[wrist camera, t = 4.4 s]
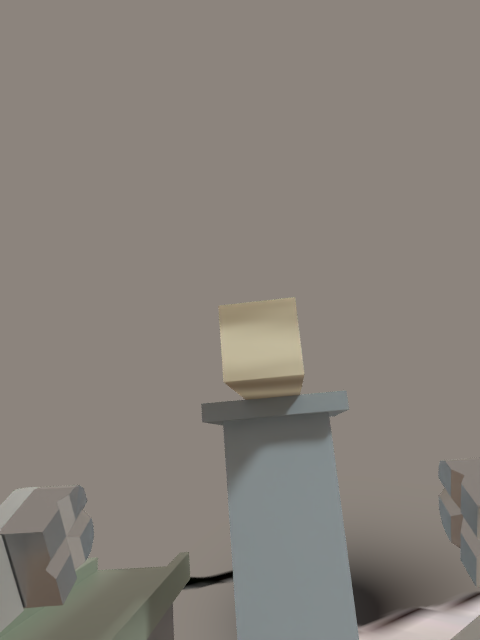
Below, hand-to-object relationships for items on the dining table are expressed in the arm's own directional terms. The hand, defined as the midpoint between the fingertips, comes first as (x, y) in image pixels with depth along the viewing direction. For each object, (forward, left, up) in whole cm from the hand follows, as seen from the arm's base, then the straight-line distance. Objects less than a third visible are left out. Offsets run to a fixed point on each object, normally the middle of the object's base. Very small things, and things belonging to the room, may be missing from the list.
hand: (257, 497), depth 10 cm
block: (+11, +12, +3) cm, 17 cm away
